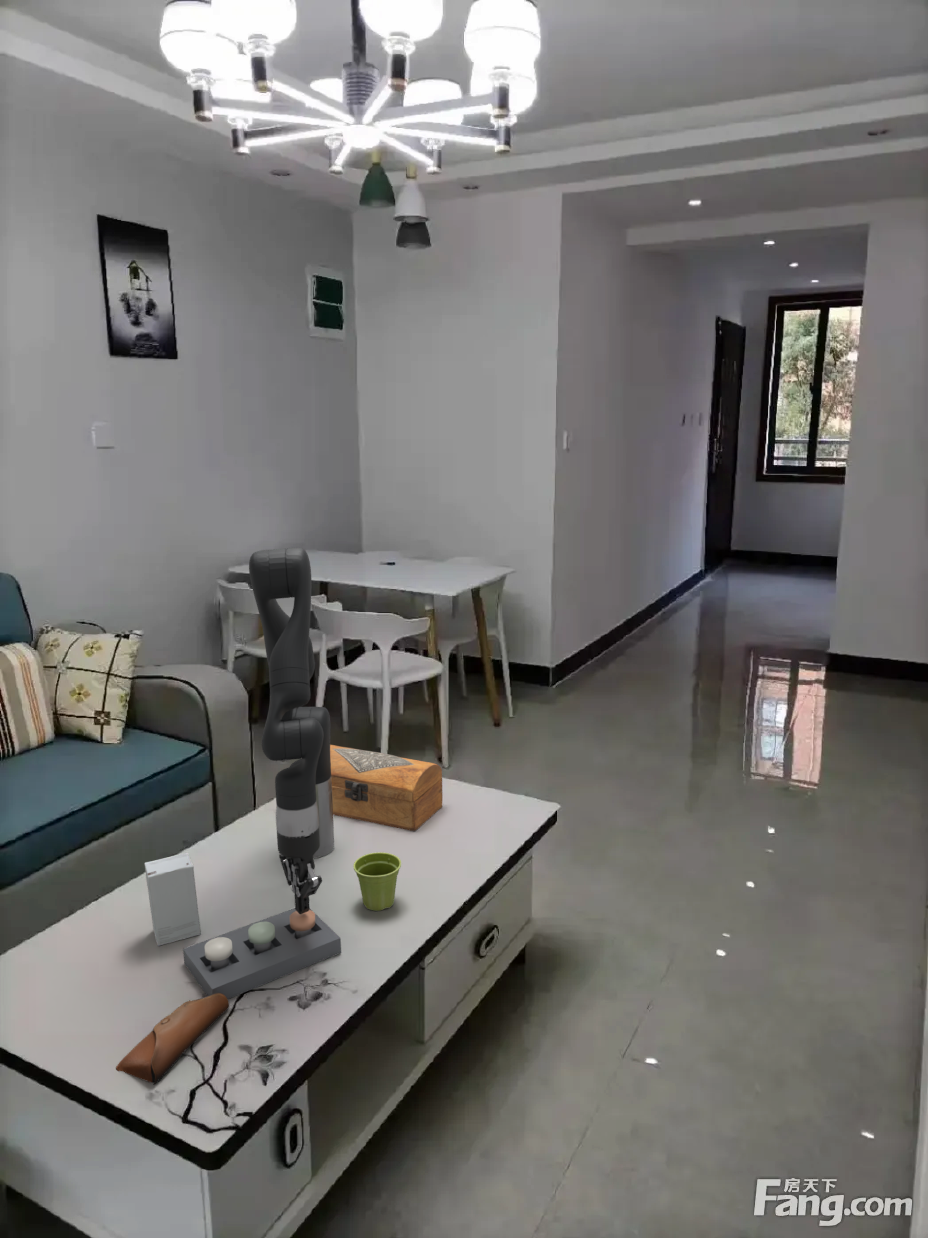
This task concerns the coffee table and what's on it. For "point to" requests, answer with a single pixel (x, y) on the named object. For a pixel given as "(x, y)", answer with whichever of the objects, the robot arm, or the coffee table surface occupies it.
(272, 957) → the console
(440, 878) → the coffee table surface
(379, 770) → the wooden box
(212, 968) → the ivory button
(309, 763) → the robot arm
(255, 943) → the sage button
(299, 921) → the terracotta button
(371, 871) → the plant pot
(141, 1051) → the sunglasses case
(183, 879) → the skincare box
